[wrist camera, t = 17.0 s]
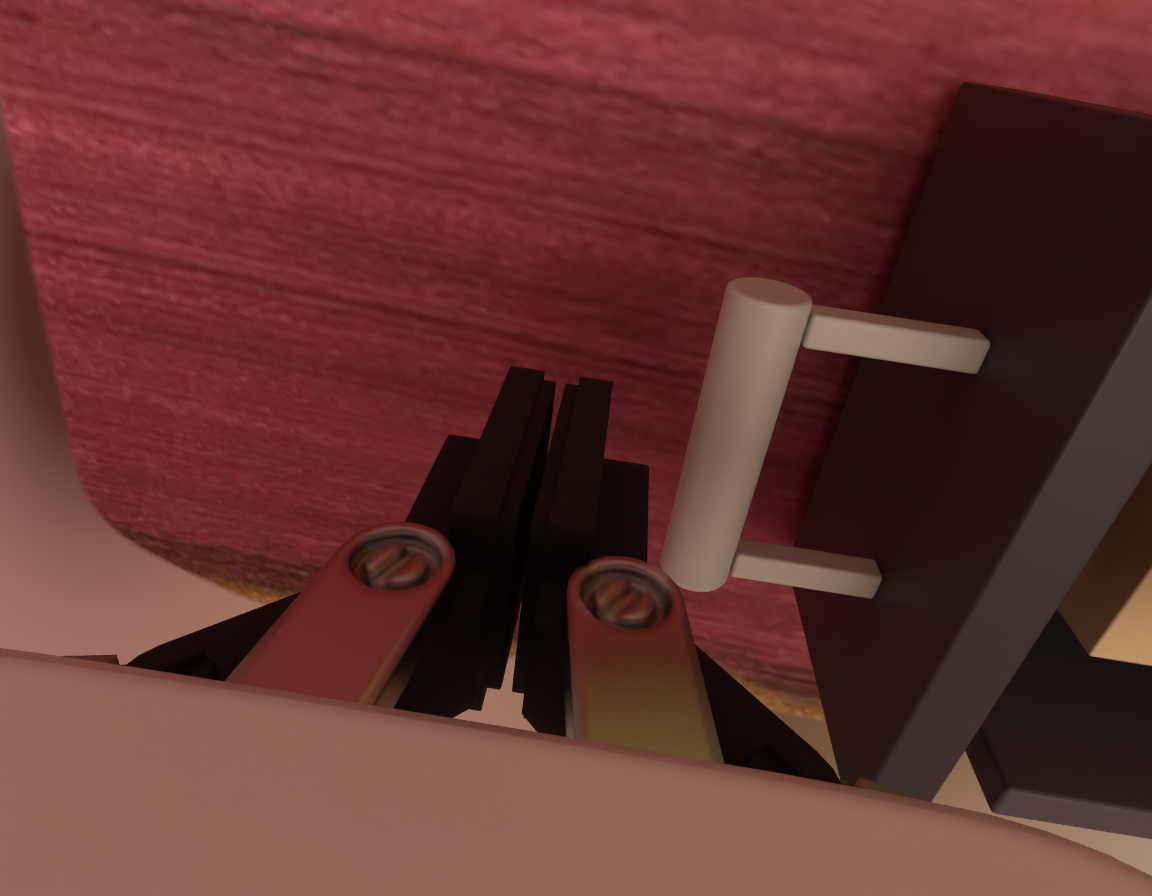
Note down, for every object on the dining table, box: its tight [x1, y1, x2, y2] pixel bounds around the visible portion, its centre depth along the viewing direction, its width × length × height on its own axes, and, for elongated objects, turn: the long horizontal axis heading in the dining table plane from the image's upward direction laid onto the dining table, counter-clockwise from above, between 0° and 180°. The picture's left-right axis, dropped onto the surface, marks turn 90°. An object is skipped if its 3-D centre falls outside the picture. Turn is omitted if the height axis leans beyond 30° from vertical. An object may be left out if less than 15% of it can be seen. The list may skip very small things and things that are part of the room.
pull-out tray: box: [660, 82, 1152, 839], centre depth 14 cm, size 18×12×8 cm
